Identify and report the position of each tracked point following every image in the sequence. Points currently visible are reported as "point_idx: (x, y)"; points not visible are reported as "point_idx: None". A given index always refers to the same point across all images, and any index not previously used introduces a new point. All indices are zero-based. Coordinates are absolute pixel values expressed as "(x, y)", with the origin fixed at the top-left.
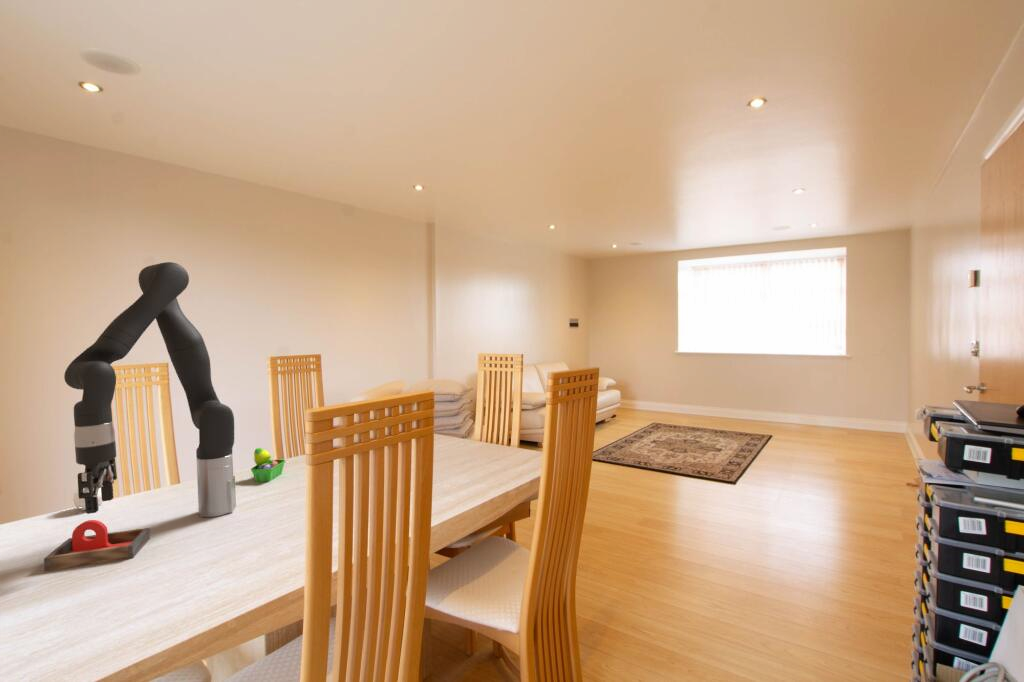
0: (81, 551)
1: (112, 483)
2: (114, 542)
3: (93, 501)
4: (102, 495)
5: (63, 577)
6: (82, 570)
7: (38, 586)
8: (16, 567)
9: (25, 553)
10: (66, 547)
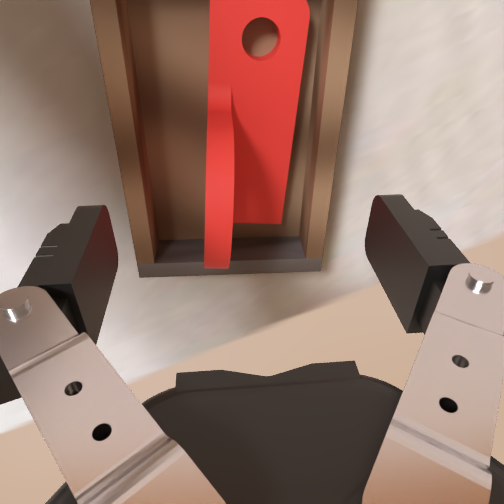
0: (245, 188)
1: (44, 295)
2: (139, 100)
3: (458, 256)
4: (108, 287)
5: (401, 164)
6: (372, 123)
7: (430, 209)
8: (240, 324)
9: (136, 350)
10: (199, 253)
